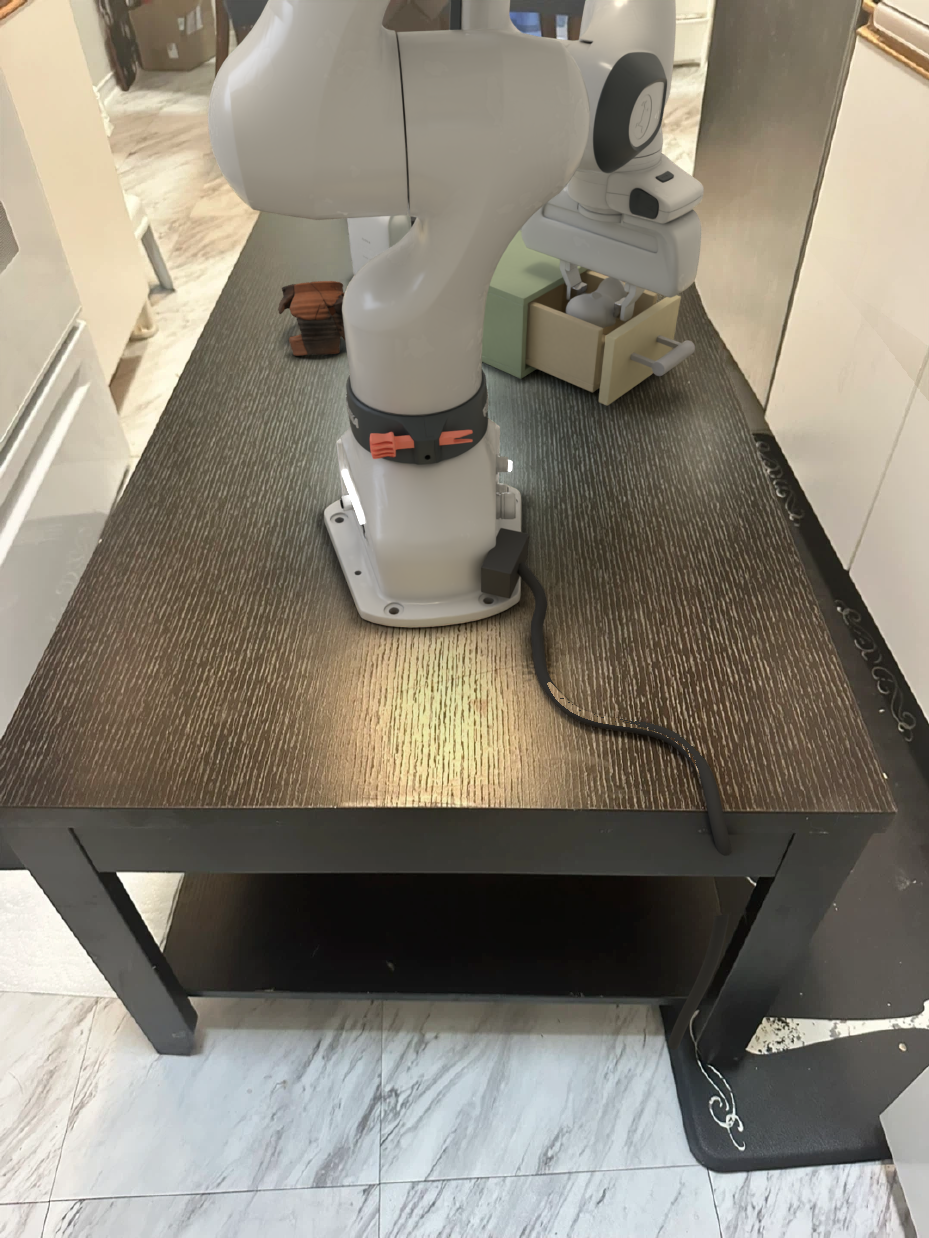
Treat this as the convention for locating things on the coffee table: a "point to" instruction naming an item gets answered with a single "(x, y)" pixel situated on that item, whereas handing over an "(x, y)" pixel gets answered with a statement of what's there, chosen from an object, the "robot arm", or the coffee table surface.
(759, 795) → the coffee table surface
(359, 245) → the photo printer
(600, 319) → the smooth white sculpture
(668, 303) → the drawer
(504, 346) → the cabinet
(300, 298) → the pottery mug
